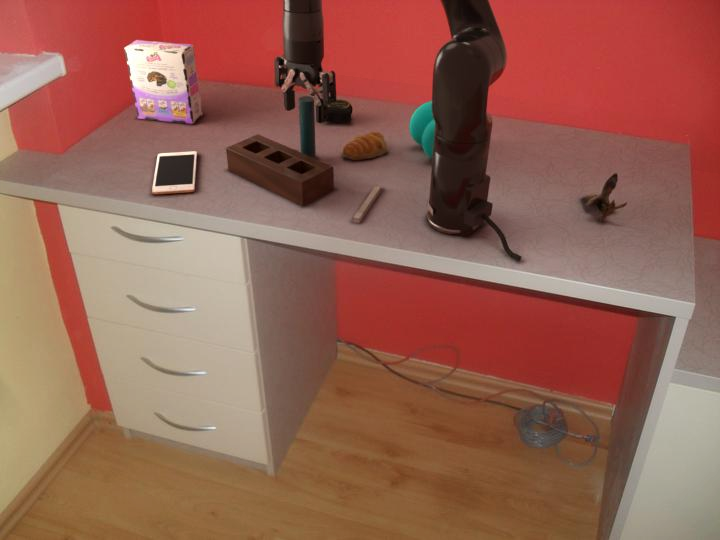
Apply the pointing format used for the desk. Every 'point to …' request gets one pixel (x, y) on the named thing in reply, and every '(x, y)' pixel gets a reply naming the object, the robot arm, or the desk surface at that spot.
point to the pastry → (365, 146)
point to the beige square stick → (366, 204)
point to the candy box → (164, 81)
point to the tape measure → (339, 111)
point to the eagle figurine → (604, 198)
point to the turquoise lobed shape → (423, 127)
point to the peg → (307, 126)
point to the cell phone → (175, 173)
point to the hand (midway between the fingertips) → (305, 115)
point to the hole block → (280, 169)
